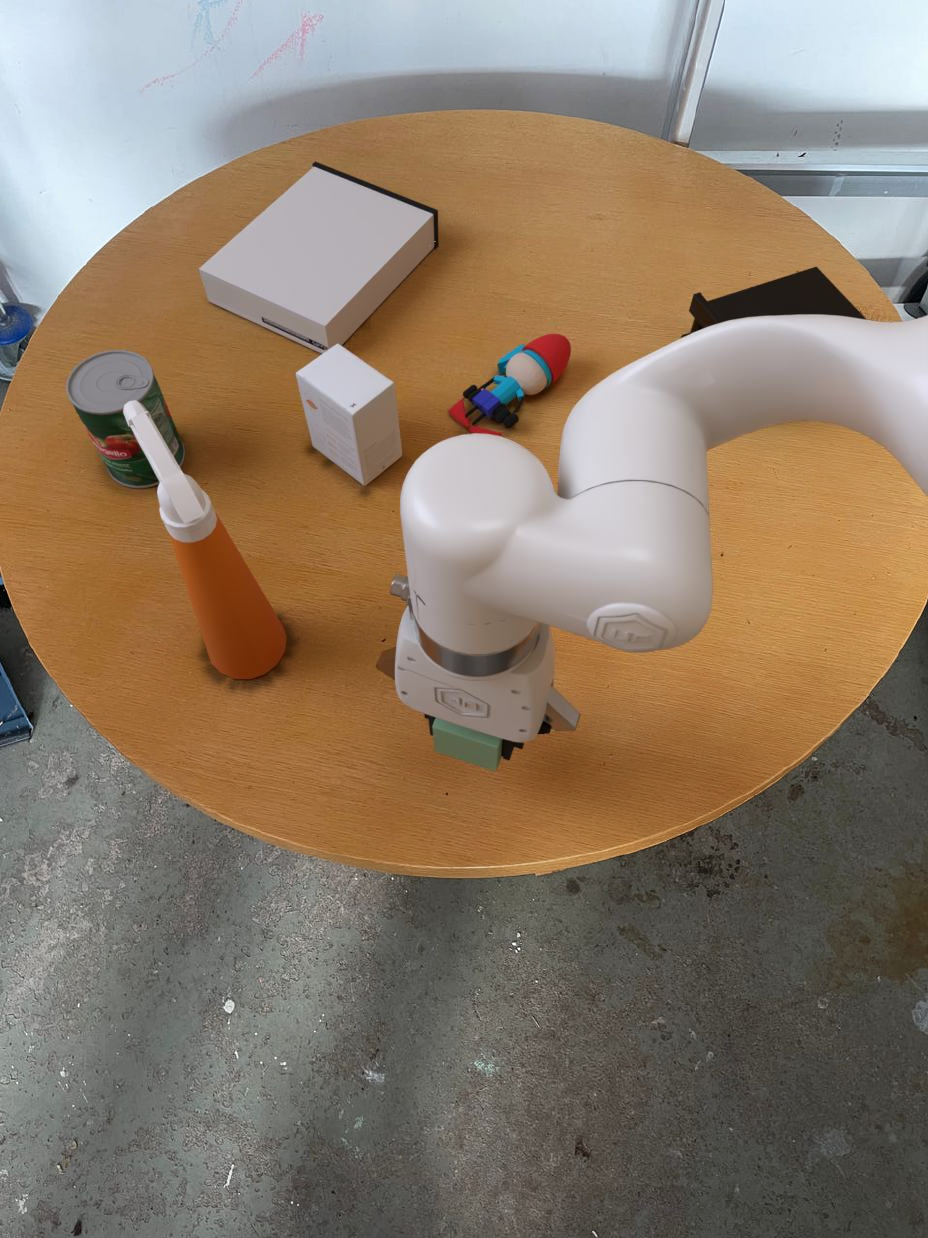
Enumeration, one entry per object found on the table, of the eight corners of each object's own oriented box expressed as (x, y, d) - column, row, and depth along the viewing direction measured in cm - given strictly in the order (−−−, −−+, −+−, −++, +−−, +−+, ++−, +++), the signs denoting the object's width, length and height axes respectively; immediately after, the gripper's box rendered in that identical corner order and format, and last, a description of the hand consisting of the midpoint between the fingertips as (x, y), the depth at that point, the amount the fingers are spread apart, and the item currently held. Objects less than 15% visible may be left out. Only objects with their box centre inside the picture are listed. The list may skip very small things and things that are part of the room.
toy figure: (493, 460, 91) (592, 371, 94) (486, 430, 86) (590, 339, 89) (445, 423, 94) (542, 339, 97) (436, 393, 90) (538, 306, 93)
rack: (795, 314, 100) (821, 253, 93) (859, 384, 94) (891, 325, 87) (675, 353, 97) (693, 293, 89) (734, 429, 91) (757, 371, 84)
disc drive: (439, 245, 105) (438, 208, 101) (332, 359, 96) (326, 324, 91) (321, 198, 110) (315, 160, 105) (207, 302, 100) (196, 266, 96)
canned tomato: (98, 487, 87) (54, 410, 77) (117, 427, 91) (77, 347, 81) (177, 490, 87) (142, 413, 77) (192, 430, 91) (161, 350, 81)
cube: (516, 714, 68) (519, 687, 63) (496, 772, 65) (498, 748, 61) (456, 695, 69) (455, 667, 64) (434, 752, 66) (431, 726, 62)
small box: (403, 457, 89) (397, 382, 80) (364, 488, 87) (353, 416, 78) (350, 416, 92) (338, 340, 83) (310, 446, 90) (293, 371, 81)
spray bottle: (248, 570, 82) (167, 362, 59) (301, 656, 78) (235, 467, 55) (179, 605, 80) (67, 404, 57) (228, 695, 76) (129, 515, 53)
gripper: (317, 624, 50) (355, 740, 66) (601, 712, 48) (569, 811, 63) (366, 525, 54) (391, 657, 70) (634, 601, 51) (596, 721, 67)
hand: (476, 729), depth 66 cm, fingers closed on cube, 5 cm apart
